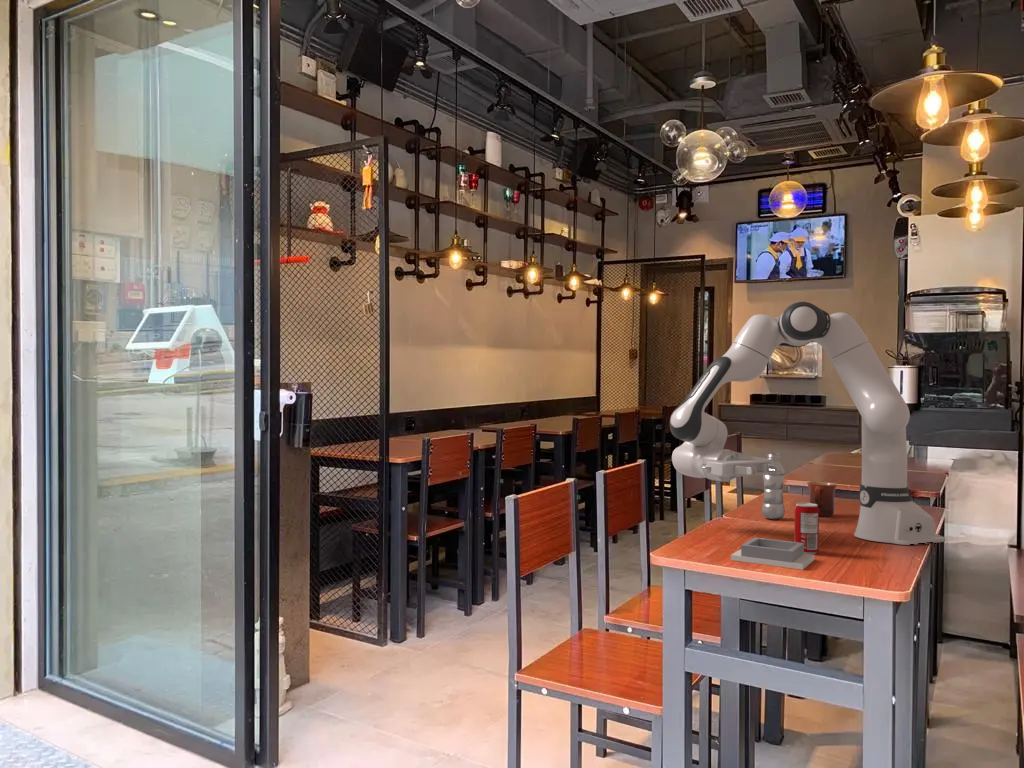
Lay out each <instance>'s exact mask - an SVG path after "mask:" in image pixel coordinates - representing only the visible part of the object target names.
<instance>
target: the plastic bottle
mask: <svg viewBox="0 0 1024 768" xmlns="http://www.w3.org/2000/svg"><path fill="white" fill-rule="evenodd" d="M766 459H769V460H771V461H772V465H774V466H778V472H777V473H770V474H762V479H763V488H764V489H763V491H764V492H763V493H764V494H763V503H762V507H761V511H762V512H761V514H762V516H763V517H764V518H766V519H770V520H781V519H783V518H784V516H785V511H786V509H785V504H784V493H783V492H784V490H783V489H784V480H785V473H786V471H785V468H784V466H783V465H782V463H781V462H780V461H781V453H776V452H775V453H772V452H771V453H767V458H766Z"/></svg>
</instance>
